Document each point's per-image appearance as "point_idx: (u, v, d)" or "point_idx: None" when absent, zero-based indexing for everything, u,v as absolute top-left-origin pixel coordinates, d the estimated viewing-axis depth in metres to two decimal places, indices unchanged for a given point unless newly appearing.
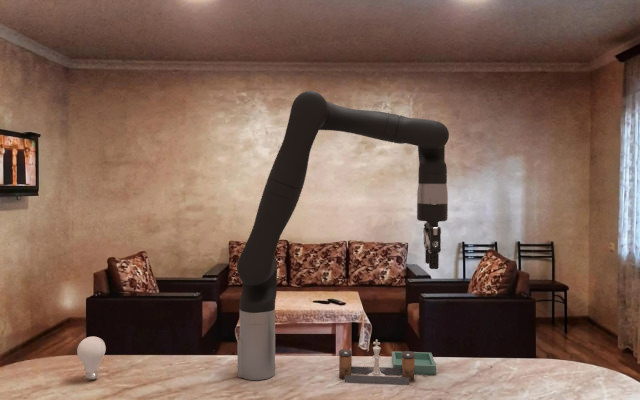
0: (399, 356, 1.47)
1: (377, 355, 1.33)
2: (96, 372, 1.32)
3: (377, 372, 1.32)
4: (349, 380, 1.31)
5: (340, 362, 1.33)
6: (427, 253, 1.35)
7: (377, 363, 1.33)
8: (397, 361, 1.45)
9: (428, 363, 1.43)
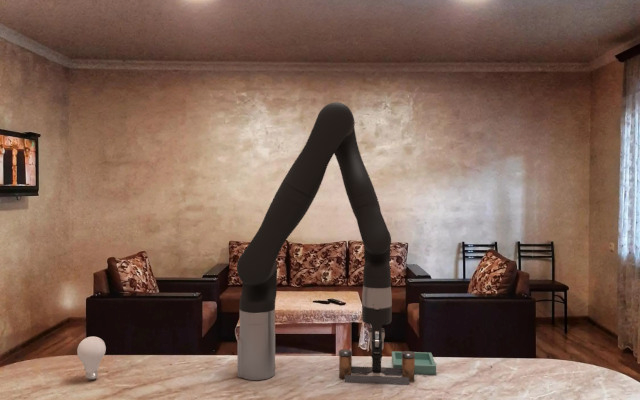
0: (399, 356, 1.47)
1: None
2: (96, 372, 1.32)
3: None
4: (349, 380, 1.31)
5: (340, 362, 1.33)
6: None
7: None
8: (397, 361, 1.45)
9: (428, 363, 1.43)
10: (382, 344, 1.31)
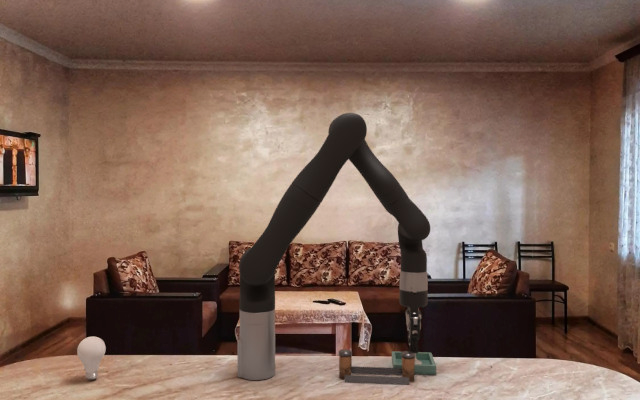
0: (399, 356, 1.47)
1: None
2: (96, 372, 1.32)
3: None
4: (349, 380, 1.31)
5: (340, 362, 1.33)
6: (409, 336, 1.45)
7: None
8: (397, 361, 1.45)
9: (428, 363, 1.43)
10: (419, 324, 1.39)
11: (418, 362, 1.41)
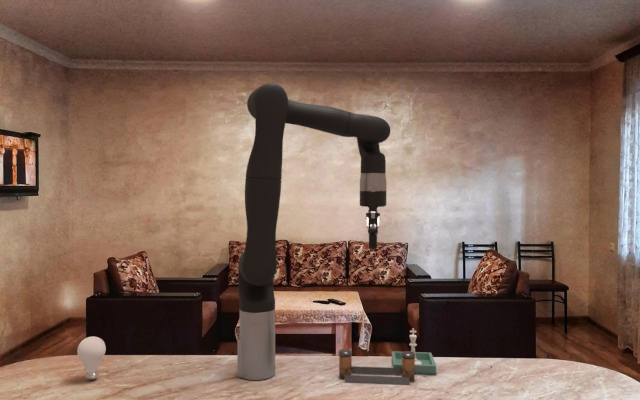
0: (399, 356, 1.47)
1: (414, 343, 1.41)
2: (96, 372, 1.32)
3: None
4: (349, 380, 1.31)
5: (340, 362, 1.33)
6: None
7: (413, 350, 1.41)
8: (397, 361, 1.45)
9: (428, 363, 1.43)
10: (378, 222, 1.44)
11: (418, 362, 1.41)
